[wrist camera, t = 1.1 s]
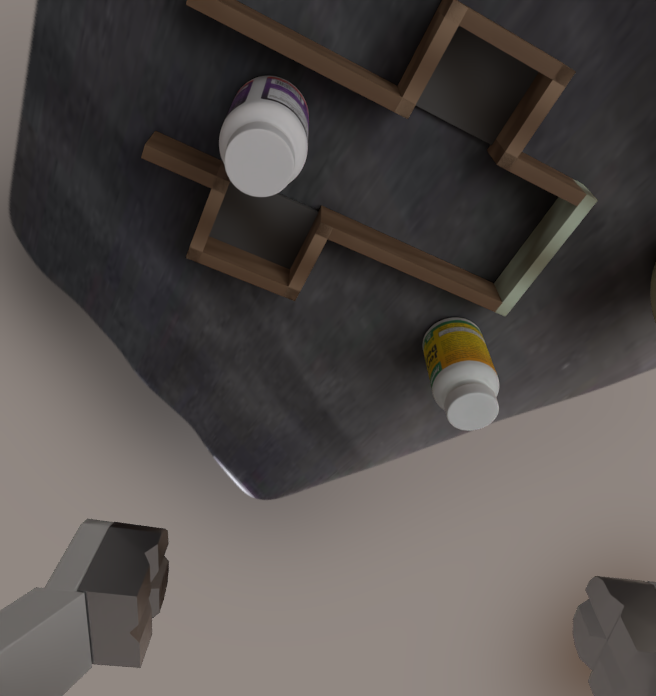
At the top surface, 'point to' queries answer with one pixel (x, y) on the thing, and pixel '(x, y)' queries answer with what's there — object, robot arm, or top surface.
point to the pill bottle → (265, 136)
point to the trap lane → (413, 89)
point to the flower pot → (653, 292)
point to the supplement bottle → (461, 373)
